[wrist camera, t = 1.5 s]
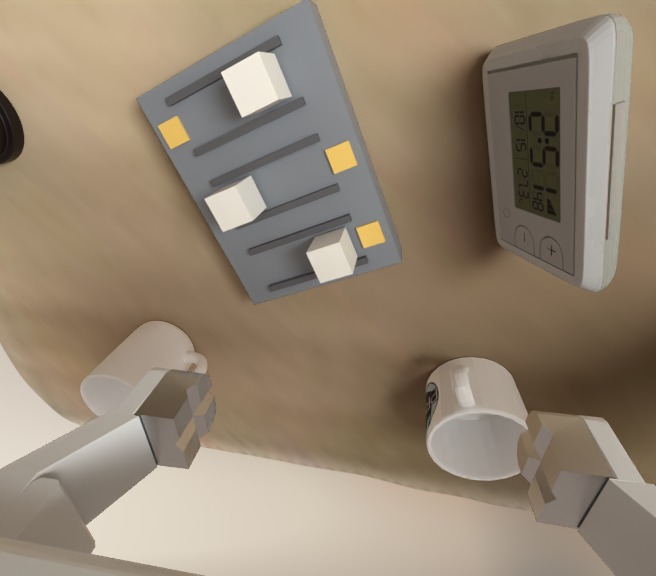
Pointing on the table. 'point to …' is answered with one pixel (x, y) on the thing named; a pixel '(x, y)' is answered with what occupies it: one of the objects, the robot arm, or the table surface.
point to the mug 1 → (138, 364)
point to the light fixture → (9, 131)
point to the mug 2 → (474, 419)
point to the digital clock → (561, 145)
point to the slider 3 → (332, 255)
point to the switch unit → (278, 156)
